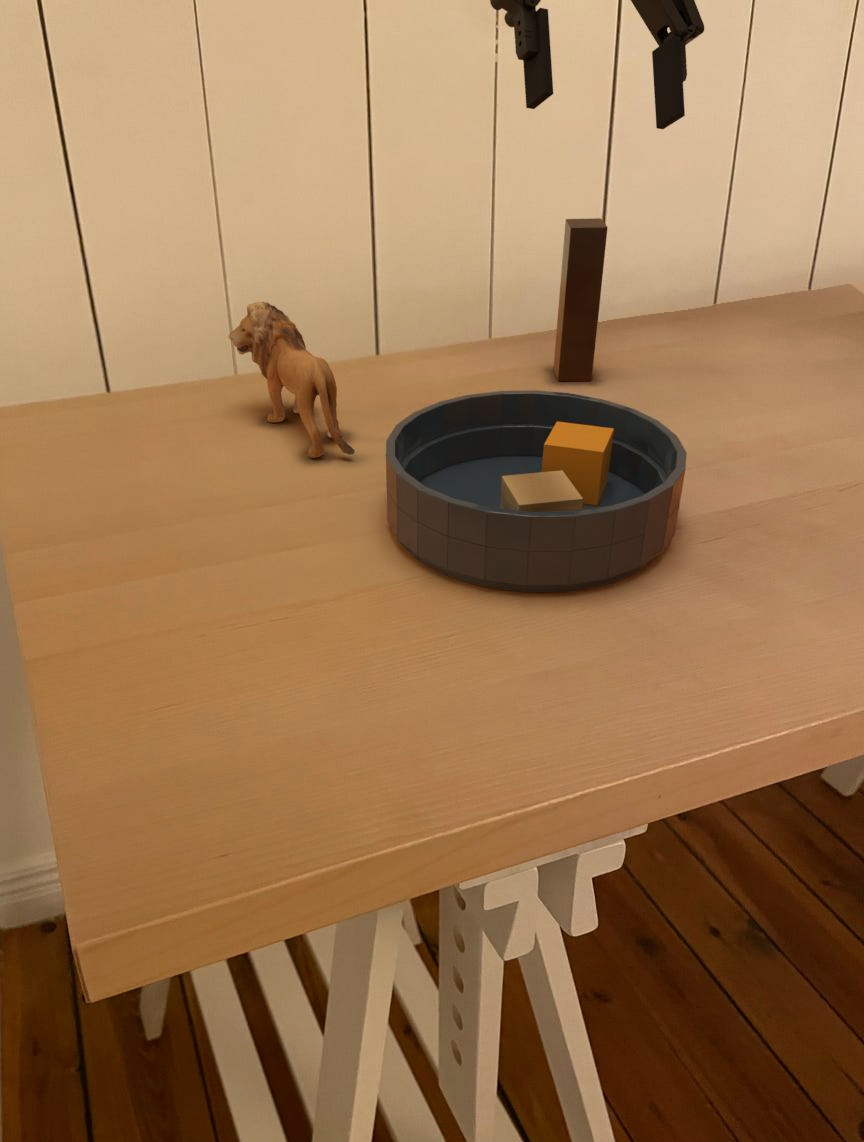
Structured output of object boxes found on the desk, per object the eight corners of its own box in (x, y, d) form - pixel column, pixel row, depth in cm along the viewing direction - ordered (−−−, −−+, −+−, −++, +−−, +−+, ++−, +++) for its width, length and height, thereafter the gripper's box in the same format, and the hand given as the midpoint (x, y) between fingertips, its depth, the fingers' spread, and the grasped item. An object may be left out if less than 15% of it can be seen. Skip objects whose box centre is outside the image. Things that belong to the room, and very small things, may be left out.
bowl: (640, 458, 76) (650, 388, 73) (705, 594, 61) (722, 513, 58) (387, 461, 77) (386, 392, 73) (387, 599, 61) (385, 518, 58)
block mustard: (607, 481, 72) (614, 428, 69) (597, 506, 68) (603, 451, 66) (552, 473, 73) (556, 421, 70) (539, 497, 70) (543, 443, 67)
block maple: (557, 525, 66) (562, 469, 64) (577, 555, 63) (583, 498, 61) (498, 531, 66) (501, 475, 64) (515, 562, 63) (519, 504, 60)
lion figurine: (230, 410, 85) (218, 303, 80) (283, 395, 88) (275, 290, 83) (326, 469, 76) (319, 352, 70) (383, 451, 78) (381, 336, 73)
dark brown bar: (586, 369, 92) (601, 218, 84) (591, 381, 89) (607, 226, 82) (553, 369, 92) (565, 218, 84) (557, 381, 89) (570, 227, 82)
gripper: (676, -93, 92) (689, 147, 93) (436, -160, 81) (455, 112, 82) (738, -149, 85) (752, 111, 86) (485, -231, 74) (505, 67, 75)
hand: (607, 112), depth 84 cm, fingers open, 13 cm apart
